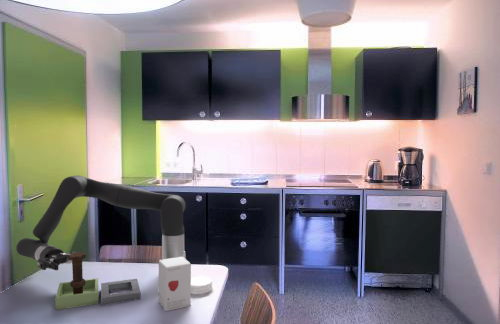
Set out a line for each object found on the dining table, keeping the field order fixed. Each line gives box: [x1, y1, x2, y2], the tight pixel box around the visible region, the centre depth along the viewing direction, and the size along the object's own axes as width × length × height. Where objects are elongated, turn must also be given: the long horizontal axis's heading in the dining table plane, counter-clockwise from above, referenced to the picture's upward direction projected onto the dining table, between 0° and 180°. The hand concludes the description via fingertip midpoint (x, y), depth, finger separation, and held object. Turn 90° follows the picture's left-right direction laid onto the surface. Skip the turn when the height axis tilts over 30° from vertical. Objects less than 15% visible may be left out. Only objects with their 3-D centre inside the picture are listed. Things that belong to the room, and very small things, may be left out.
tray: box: [54, 277, 99, 311], centre depth 127 cm, size 13×14×4 cm
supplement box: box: [158, 257, 192, 312], centre depth 123 cm, size 9×9×15 cm
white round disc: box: [191, 275, 213, 296], centre depth 136 cm, size 10×10×4 cm
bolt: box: [68, 251, 87, 294], centre depth 127 cm, size 6×5×15 cm
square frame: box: [100, 278, 142, 306], centre depth 131 cm, size 13×14×2 cm
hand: (69, 264), depth 130 cm, fingers open, 8 cm apart
